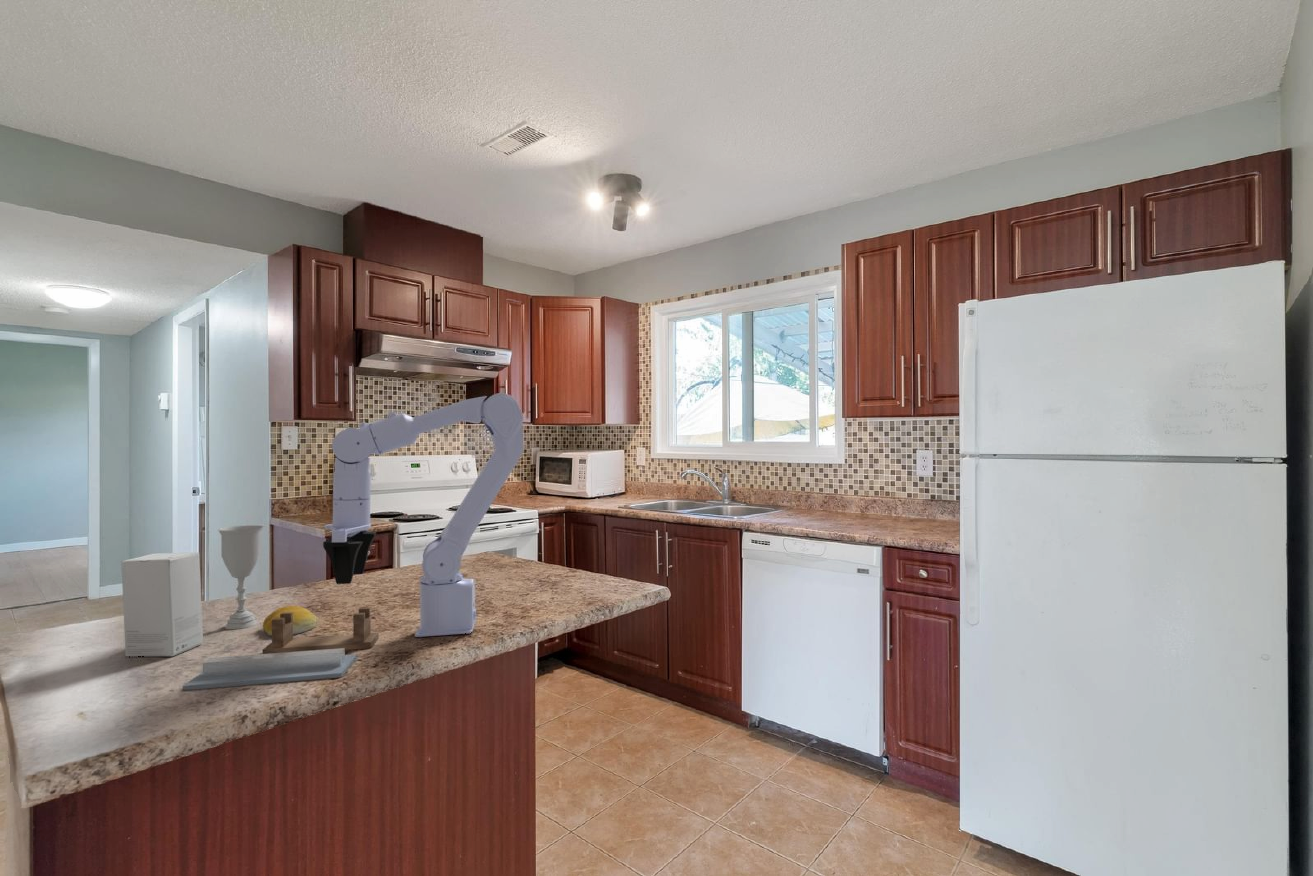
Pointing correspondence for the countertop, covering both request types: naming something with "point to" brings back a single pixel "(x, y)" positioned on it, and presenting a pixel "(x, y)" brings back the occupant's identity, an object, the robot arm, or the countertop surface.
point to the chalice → (240, 566)
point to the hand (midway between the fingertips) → (350, 578)
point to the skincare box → (162, 604)
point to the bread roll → (301, 619)
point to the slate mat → (270, 676)
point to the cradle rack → (287, 643)
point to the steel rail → (273, 662)
